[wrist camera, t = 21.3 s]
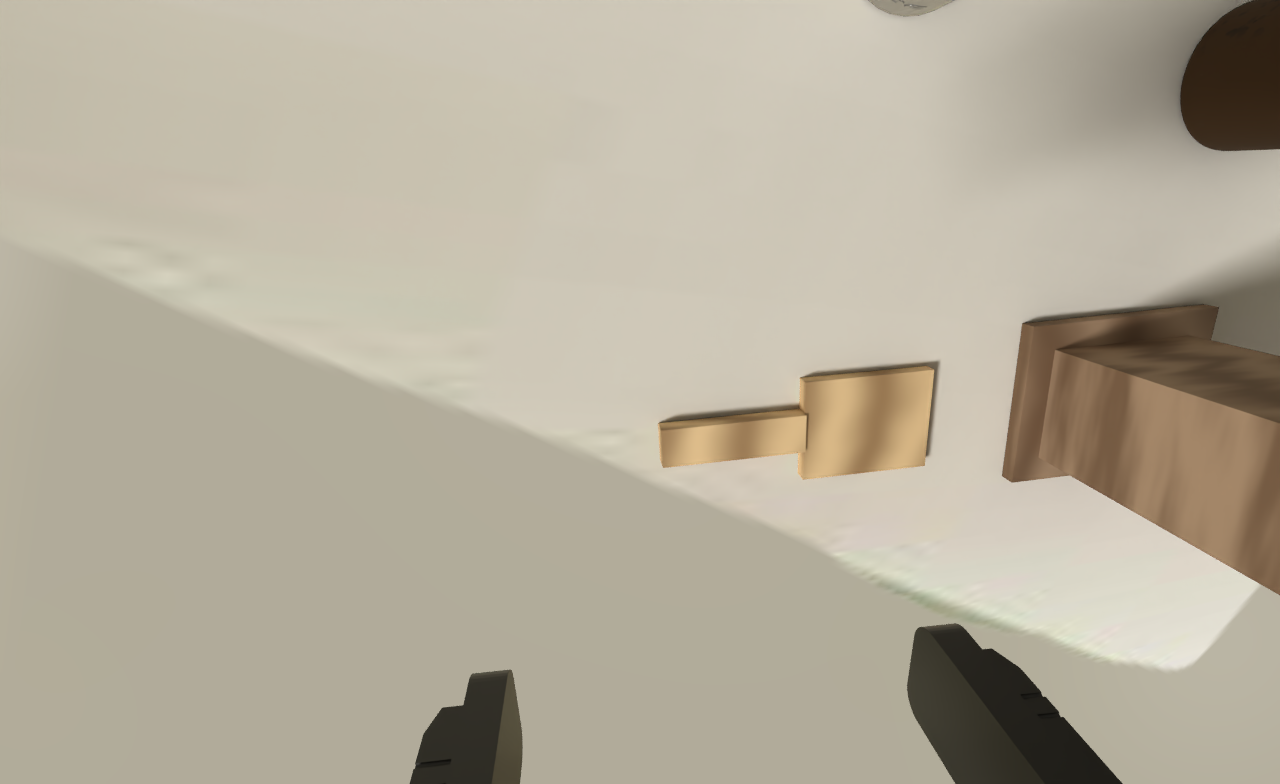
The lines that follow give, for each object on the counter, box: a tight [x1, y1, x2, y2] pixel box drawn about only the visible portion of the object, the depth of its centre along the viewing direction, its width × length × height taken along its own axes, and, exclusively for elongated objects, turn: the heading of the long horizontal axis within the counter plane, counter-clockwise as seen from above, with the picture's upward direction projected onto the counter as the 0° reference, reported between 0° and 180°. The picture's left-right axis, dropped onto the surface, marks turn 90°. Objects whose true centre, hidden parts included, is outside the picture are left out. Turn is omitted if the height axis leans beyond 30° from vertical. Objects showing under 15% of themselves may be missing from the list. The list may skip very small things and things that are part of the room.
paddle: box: [658, 366, 934, 480], centre depth 45 cm, size 21×8×2 cm, turn 94°
